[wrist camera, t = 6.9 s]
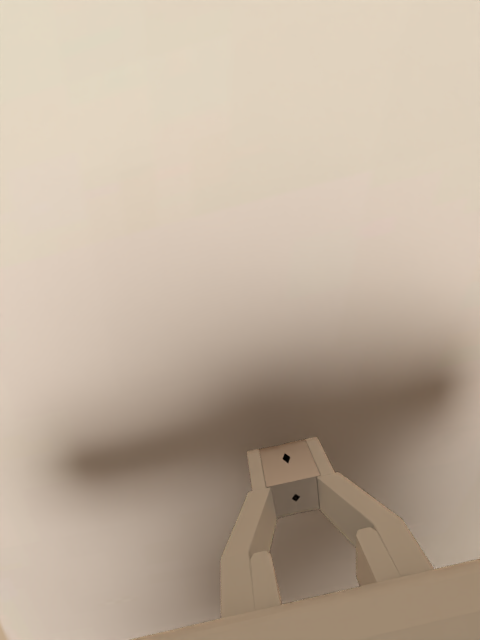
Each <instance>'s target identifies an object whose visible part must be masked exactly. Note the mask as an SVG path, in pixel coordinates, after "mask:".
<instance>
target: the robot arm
mask: <svg viewBox="0 0 480 640" xmlns="http://www.w3.org/2000/svg"><path fill="white" fill-rule="evenodd" d="M259 451H260V452H259ZM247 458H248V466H249V473H250V480H251V488H252V491H250V492H248V494H247V496H246V499H245V501H244V504H243V506H242V508H241V511H240V513H239V516H238V518H237V520H236V523H235V525H234V528H233V530H232V532H231V535H230V537H229V540H228V542H227V544H226V547H225V549H224V552H223V554H222V556H221V559H220V578H221V619H216V620H212V621H208V622H203V623H199V624H195V625H190V626H186V627H182V628H178V629H173V630H169V631H165V632H160V633H156V634H152V635H147V636H143V637H139V638H134V639H130V640H480V559H476V560H471V561H467V562H463V563H458V564H454V565H450V566H445V567H441V568H437V569H434V568H433V566H432V565H431V563H430V562H429V560H428V559H427V557H426V555H425V554H424V552H423V551H422V549H421V548H420V546H419V544H418V543H417V541H416V540H415V538H414V537H413V535H412V534H411V532H410V530H409V529H408V527H407V526H406V524H405V523H404V521H403V520H402V518H400V517H399V516H398V515H396V514H395V513H393V512H392V511H391V510H389V509H388V508H387V507H385V506H384V505H383V504H381V503H380V502H379V501H377V500H376V499H374V498H373V497H372V496H370V495H369V494H368V493H366V492H365V491H364V490H362V489H361V488H360V487H358V486H357V485H356V484H354V483H353V482H351V481H350V480H349V479H347V478H346V477H345V476H343V475H342V474H341V473H339V472H337V473H335V472H334V470H333V468H332V466H331V464H330V461H329V459H328V457H327V455H326V453H325V451H324V449H323V447H322V445H321V443H320V441H319V439H318V438H317V437H312V438H307V439H305V440H304V439H302V440H297V441H293V442H289V443H284V444H282V445H277V446H272V447H266V448H261V449H256V450H251V451H247ZM317 509H320V511H321V512H322V513H323V514H324V515H325V516H326V517H327V518H328V519H329V520H330V521H331V522H332V524H333V525H334V526H335V527H336V528H337V529H338V530H339V531H340V532H341V533H342V534H343V535H344V536H345V537H346V538H347V539H348V540H349V541H350V542H351V544H352V545H353V546H354V547H355V548H356V577H357V580H358V582H359V585H360V586H359V587H355V588H350V589H346V590H342V591H337V592H333V593H329V594H324V595H320V596H316V597H311V598H307V599H303V600H298V601H294V602H290V603H285V604H282V601H281V596H280V591H279V587H278V583H277V578H276V574H275V569H274V565H273V561H272V556H271V554H270V553H269V552H270V548H271V544H272V540H273V535H274V531H275V527H276V523H277V518H281V517H285V516H289V515H293V514H297V513H302V512H307V511H312V510H317Z"/></svg>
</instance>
